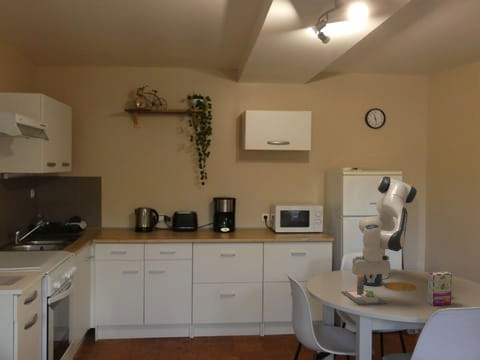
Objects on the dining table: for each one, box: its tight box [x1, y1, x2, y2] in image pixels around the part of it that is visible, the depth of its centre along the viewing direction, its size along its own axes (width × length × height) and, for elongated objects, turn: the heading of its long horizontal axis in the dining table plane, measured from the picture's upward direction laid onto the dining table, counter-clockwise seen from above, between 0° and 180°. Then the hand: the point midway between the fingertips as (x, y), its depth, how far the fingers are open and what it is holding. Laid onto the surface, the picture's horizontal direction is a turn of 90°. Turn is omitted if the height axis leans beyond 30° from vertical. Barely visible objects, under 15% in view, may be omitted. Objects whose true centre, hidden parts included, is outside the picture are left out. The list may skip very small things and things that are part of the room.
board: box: [340, 289, 389, 307], centre depth 233 cm, size 22×16×3 cm
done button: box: [366, 290, 374, 297], centre depth 226 cm, size 4×4×3 cm
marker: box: [356, 275, 365, 295], centre depth 237 cm, size 4×4×11 cm
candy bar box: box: [426, 270, 453, 307], centre depth 225 cm, size 11×5×16 cm, turn 105°
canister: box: [364, 274, 383, 287], centre depth 262 cm, size 13×13×18 cm
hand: (370, 282), depth 226 cm, fingers closed
